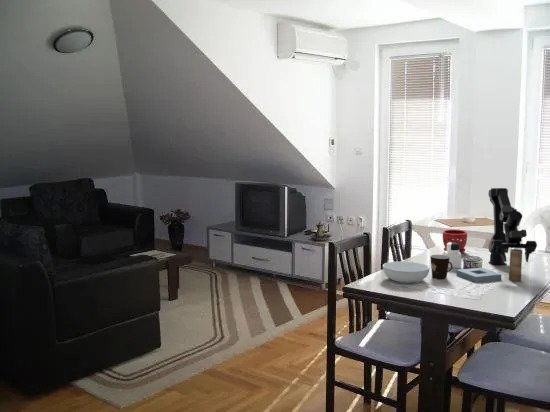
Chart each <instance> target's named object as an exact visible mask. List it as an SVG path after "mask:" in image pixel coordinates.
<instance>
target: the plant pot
mask: <svg viewBox="0 0 550 412" xmlns="http://www.w3.org/2000/svg"><path fill="white" fill-rule="evenodd" d="M467 240H468V232H467V231H466V230H461V229H446V230H443V231H442V244H443V246H444V247H443V251H447V243H449V242H455V243H458V244H459V252H460V253H461V254H463V253H465V252H466V248H465V247H466V246H467Z"/></svg>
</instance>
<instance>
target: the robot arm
mask: <svg viewBox="0 0 550 412" xmlns="http://www.w3.org/2000/svg"><path fill="white" fill-rule="evenodd" d="M488 197H489V202H490V203H491V204H492V206H493V207H492V208H493V231H494V233H493V234H492V236H491V238H490V239H491V240H490V241H489V245H488V252H490V256H489V261H488V263H489V264H492V265H495V266H503V265H508V263H506V262H507V261H508V260H507V255H506V254H508V253H509V249H524V257H525V261H526V263H528V262H529V259H530V255H531V254H532V253H534V252H535V251H536V248H537V247H538V243H537V241H536V240H526V242H525V243H521V242H522V241H523V240H522V239H523V238H526V237H527V236H528V235H527V229H521V230H519V229H518V227H519V226H520V224H521V222H522V221H521V220H522V219H523V214H522V213H521V212H520V211H518V209H516V208H515V207H513V206H512V205H511V201H510V197H509V189H508V188H506V187H491V188H490V189H489V190H488Z"/></svg>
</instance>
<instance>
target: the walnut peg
mask: <svg viewBox="0 0 550 412" xmlns="http://www.w3.org/2000/svg"><path fill="white" fill-rule="evenodd" d="M522 263H523V250H522V249H520V248H510V251H509V270H508V271H509V272H508V281H510V282H512V283H513V282H514V283H519V282H521V281H522V265H523V264H522Z"/></svg>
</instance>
